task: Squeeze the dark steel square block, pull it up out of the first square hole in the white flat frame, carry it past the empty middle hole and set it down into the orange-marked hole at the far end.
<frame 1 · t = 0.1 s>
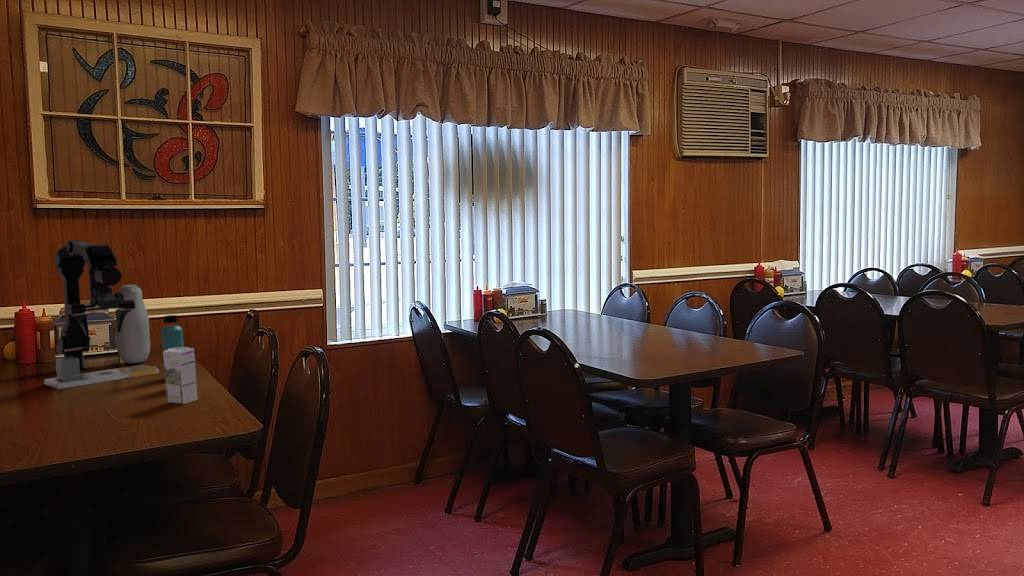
hand: (103, 333, 243), 15 cm above the table, fingers open, 9 cm apart
steel block: (69, 383, 239), resting in white flat frame
glass bottle: (135, 363, 273), on the table
beverage bottle: (175, 378, 244), on the table
white flat frame: (103, 378, 247), on the table
can: (181, 389, 228), on the table
syrup box: (182, 402, 210), on the table
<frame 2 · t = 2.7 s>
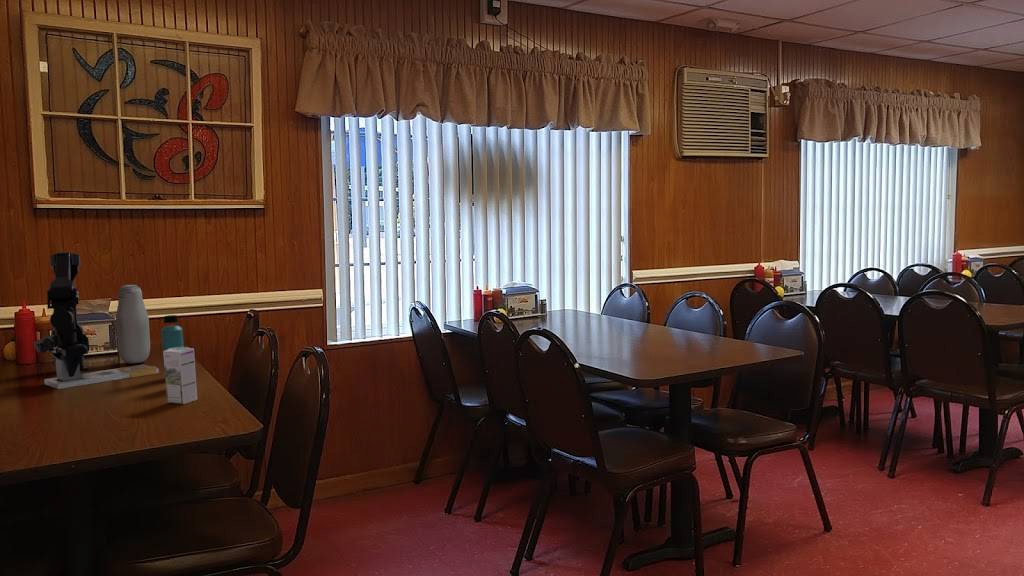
hand: (68, 375, 239), 3 cm above the table, fingers closed on steel block, 5 cm apart
steel block: (69, 383, 239), resting in white flat frame, touching gripper
everything else where it was.
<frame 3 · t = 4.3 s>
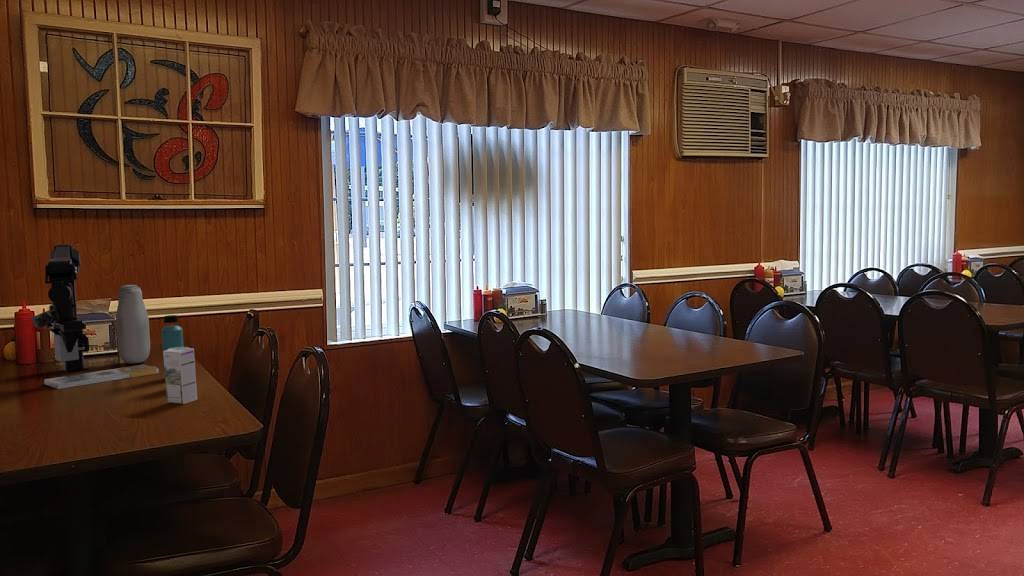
hand: (66, 351, 238), 10 cm above the table, fingers closed on steel block, 5 cm apart
steel block: (67, 359, 239), point 8 cm above the table, touching gripper
everything else where it was.
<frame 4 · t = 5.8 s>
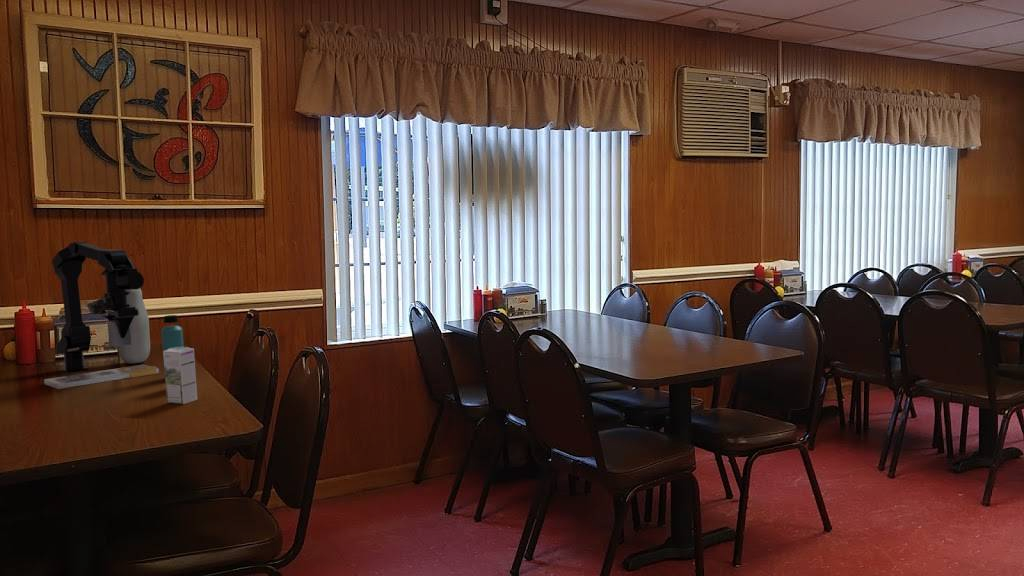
hand: (119, 337, 250), 13 cm above the table, fingers closed on steel block, 5 cm apart
steel block: (120, 344, 250), point 10 cm above the table, touching gripper
everything else where it was.
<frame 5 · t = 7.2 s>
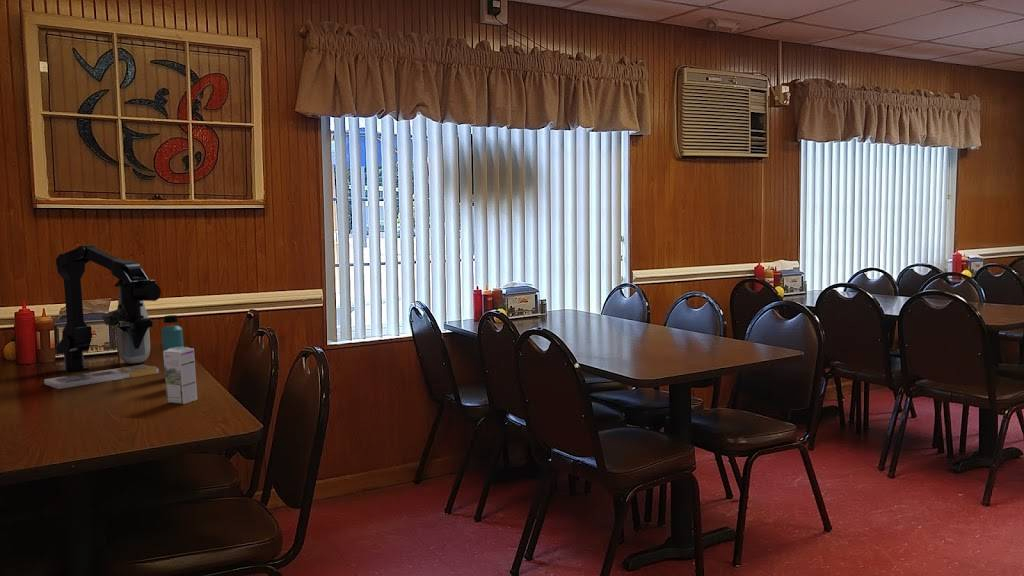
hand: (133, 347, 253), 8 cm above the table, fingers closed on steel block, 5 cm apart
steel block: (134, 355, 254), point 6 cm above the table, touching gripper
everything else where it was.
when the fingers open (3 cm above the table, at t = 8.7 s): steel block stays where it is, resting in white flat frame.
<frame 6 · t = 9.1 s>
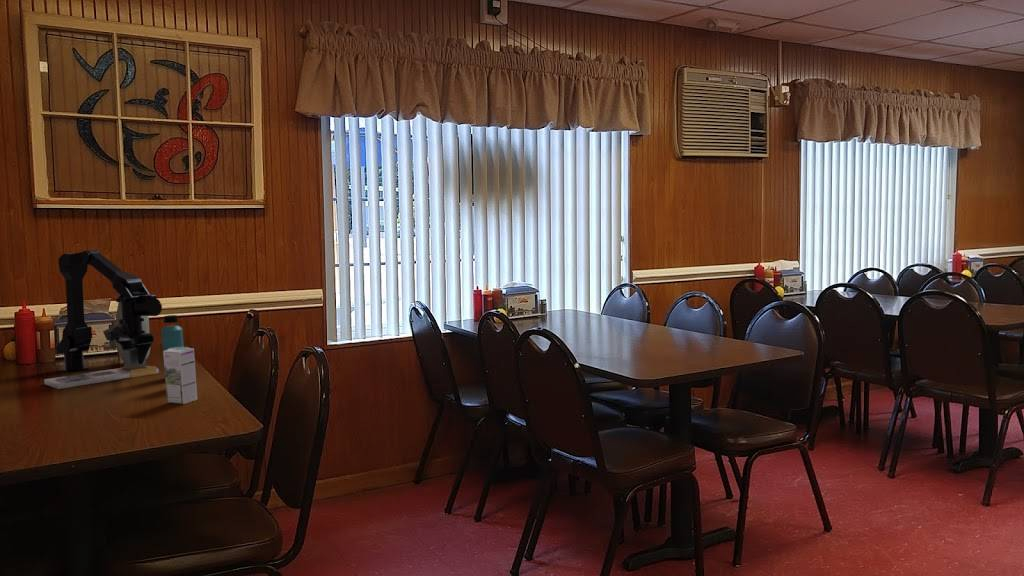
hand: (134, 362, 254), 3 cm above the table, fingers open, 9 cm apart
steel block: (135, 373, 254), resting in white flat frame
everything else where it was.
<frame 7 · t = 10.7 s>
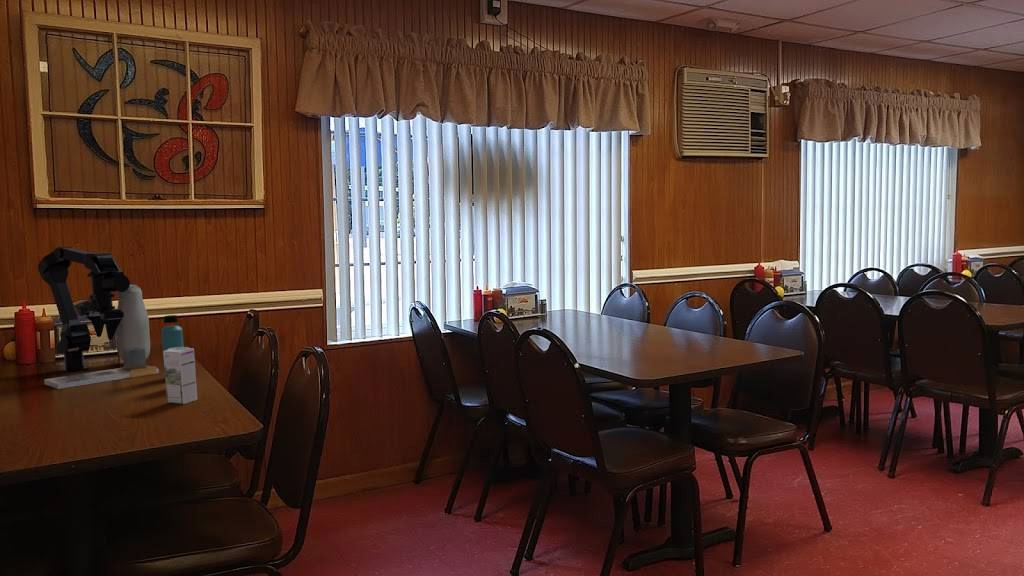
hand: (104, 338, 255), 12 cm above the table, fingers open, 9 cm apart
nothing on the table moved.
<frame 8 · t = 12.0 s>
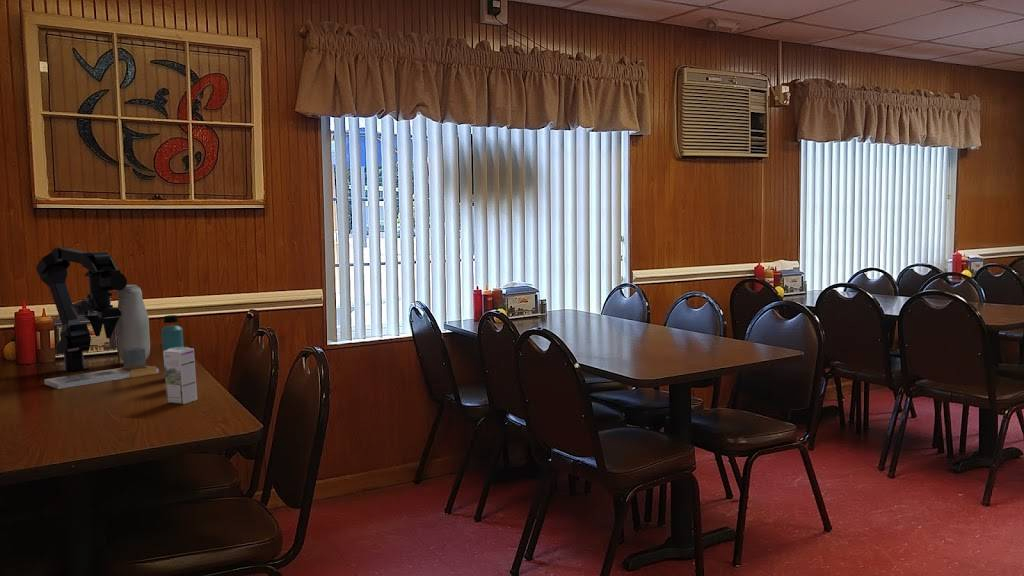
hand: (103, 337, 255), 12 cm above the table, fingers open, 9 cm apart
nothing on the table moved.
at the end: steel block 0.0 cm from the target spot on the white flat frame, point 0.0 cm above the white flat frame's base; steel block tilted 0°; the gripper is holding nothing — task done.
